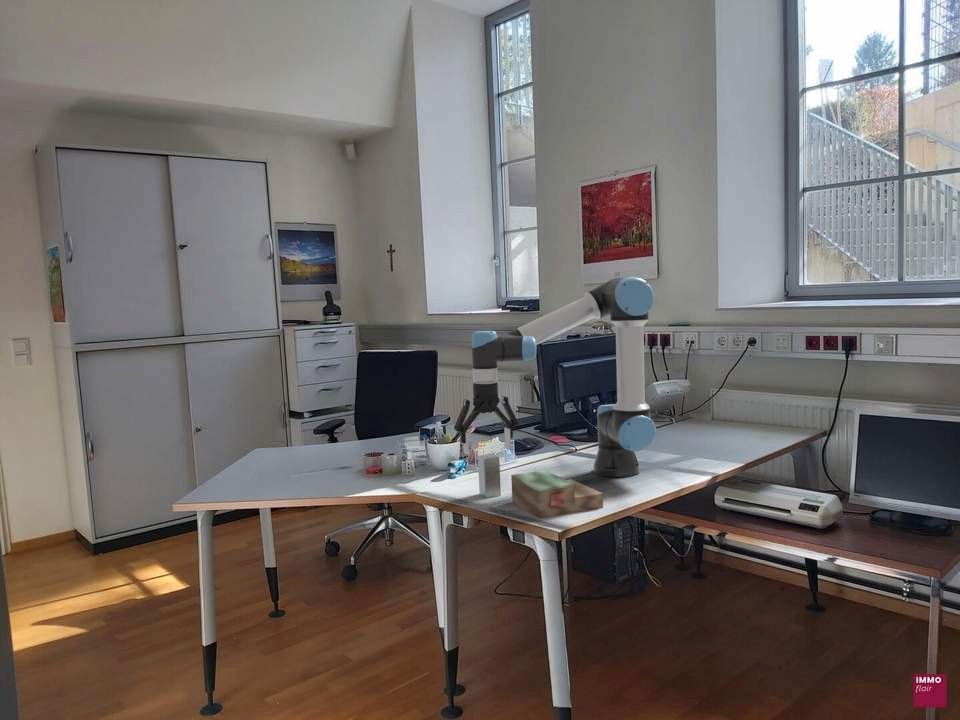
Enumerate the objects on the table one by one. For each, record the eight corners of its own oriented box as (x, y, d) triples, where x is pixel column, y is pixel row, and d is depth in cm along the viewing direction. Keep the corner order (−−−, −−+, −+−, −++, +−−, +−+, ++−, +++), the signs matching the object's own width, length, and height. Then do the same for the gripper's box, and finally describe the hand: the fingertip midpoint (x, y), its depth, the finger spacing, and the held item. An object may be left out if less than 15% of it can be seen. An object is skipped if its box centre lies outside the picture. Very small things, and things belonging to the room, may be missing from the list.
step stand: (572, 492, 222) (571, 466, 221) (604, 507, 205) (603, 479, 204) (512, 501, 215) (511, 474, 214) (540, 518, 198) (539, 489, 197)
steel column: (494, 491, 226) (492, 453, 225) (500, 495, 222) (499, 456, 220) (479, 494, 224) (477, 455, 223) (485, 497, 220) (483, 458, 219)
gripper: (517, 378, 228) (519, 444, 230) (442, 383, 219) (444, 453, 221) (528, 380, 221) (529, 449, 223) (450, 386, 212) (452, 458, 214)
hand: (487, 451), depth 222 cm, fingers open, 13 cm apart
